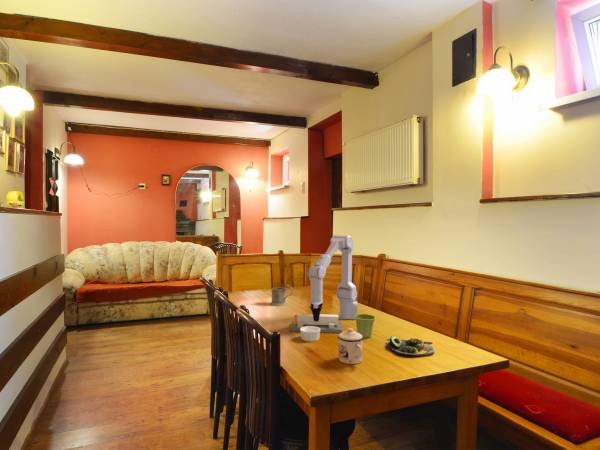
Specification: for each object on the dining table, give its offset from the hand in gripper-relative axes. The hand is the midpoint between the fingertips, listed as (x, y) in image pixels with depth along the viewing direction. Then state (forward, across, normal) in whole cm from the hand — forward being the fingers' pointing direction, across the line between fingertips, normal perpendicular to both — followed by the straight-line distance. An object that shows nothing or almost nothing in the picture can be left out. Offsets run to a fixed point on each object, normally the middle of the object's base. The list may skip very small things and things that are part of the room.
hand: (316, 319), depth 175 cm
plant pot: (+4, +9, +22) cm, 24 cm away
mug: (+4, -46, -23) cm, 52 cm away
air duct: (+2, 0, 0) cm, 2 cm away
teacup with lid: (+4, +39, +15) cm, 42 cm away
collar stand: (+4, 0, 0) cm, 4 cm away
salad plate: (+5, +24, +38) cm, 45 cm away
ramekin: (+4, +15, -2) cm, 16 cm away
